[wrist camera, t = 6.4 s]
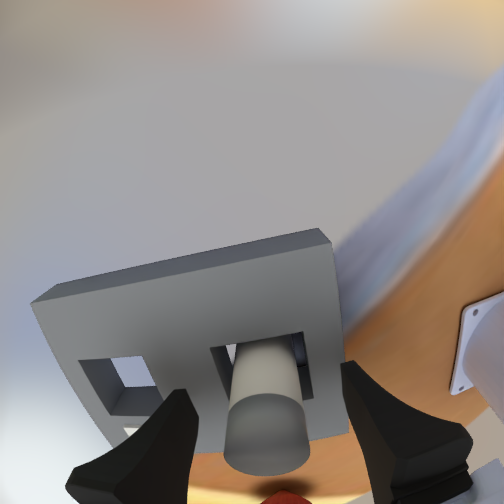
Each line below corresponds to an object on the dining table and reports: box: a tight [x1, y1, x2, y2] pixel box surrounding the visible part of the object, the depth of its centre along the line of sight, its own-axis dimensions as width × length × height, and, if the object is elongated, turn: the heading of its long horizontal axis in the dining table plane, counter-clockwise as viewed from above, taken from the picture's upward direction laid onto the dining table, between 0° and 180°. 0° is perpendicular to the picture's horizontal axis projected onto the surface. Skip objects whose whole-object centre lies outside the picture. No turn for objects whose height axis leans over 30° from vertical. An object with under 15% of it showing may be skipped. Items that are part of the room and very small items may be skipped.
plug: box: [224, 334, 310, 476], centre depth 13 cm, size 3×3×8 cm
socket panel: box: [30, 228, 349, 453], centre depth 16 cm, size 16×12×3 cm
